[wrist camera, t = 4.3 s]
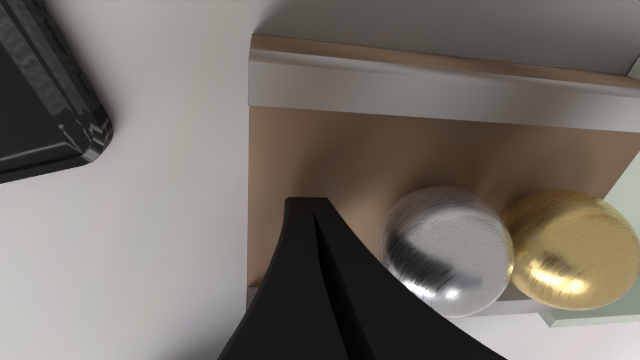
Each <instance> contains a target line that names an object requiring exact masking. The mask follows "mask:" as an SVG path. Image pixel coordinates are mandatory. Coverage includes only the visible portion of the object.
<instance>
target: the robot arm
mask: <svg viewBox="0 0 640 360" xmlns="http://www.w3.org/2000/svg"><path fill="white" fill-rule="evenodd" d="M217 360H507V359H506V358H504V357H503V356H501V355H499V354H498V353H496V352H494V351H493V350H491V349H489V348H488V347H486V346H485V345H483V344H482V343H480V342H479V341H477V340H476V339H474V338H473V337H471V336H470V335H468V334H467V333H465V332H464V331H462V330H461V329H459V328H458V327H457V326H455V325H454V324H453V323H451V322H450V321H448V320H447V319H446V318H444V317H443V316H442V315H440V314H439V313H438V312H436V311H435V310H434V309H433V308H431V307H430V306H429V305H427V304H426V303H425V302H424V301H422V300H421V299H420V298H419V297H417V296H416V295H415V294H414V293H413V292H411V291H410V290H409V289H408V288H407V287H406V286H405V285H404V284H402V283H401V282H400V281H399V280H398V279H397V278H396V277H395V276H394V275H393V274H391V273H390V272H389V271H388V270H387V269H386V268H385V267H384V266H383V265H382V263H381V262H380V261H379V260H378V259H377V258H376V257H375V256H374V255H373V254H372V253H371V252H370V251H369V249H368V248H367V247H366V246H365V245H364V244H363V243H362V241H361V240H360V239H359V238H358V237H357V235H356V234H355V233H354V232H353V231H352V229H351V228H350V227H349V226H348V224H347V223H346V222H345V220H344V219H343V218H342V217H341V215H340V214H339V213H338V211H337V210H336V209H335V207H334V206H333V204H332V203H331V202H330V200H329V199H328V198H327V197H288V198H287V199H285V202H284V214H283V226H282V229H281V233H280V236H279V240H278V243H277V246H276V249H275V251H274V254H273V256H272V259H271V262H270V264H269V267H268V269H267V271H266V274H265V276H264V278H263V280H262V282H261V284H260V287H259V289H258V291H257V293H256V295H255V297H254V298H253V300H252V302H251V304H250V306H249V308H248V310H247V311H246V313H245V315H244V317H243V319H242V320H241V322H240V324H239V325H238V327H237V329H236V330H235V332H234V334H233V335H232V337H231V338H230V340H229V341H228V343H227V345H226V346H225V348H224V349H223V351H222V352H221V354H220V355H219V357H218V359H217Z"/></svg>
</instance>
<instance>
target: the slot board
mask: <svg viewBox="0 0 640 360" xmlns="http://www.w3.org/2000/svg"><path fill="white" fill-rule="evenodd" d="M248 105H249V175H248V250H247V298H246V311H247V310H248V308H249V306H250V304H251V302H252V300H253V298H254V297H255V295H256V293H257V291H258V289H259V287H260V284H261V282H262V280H263V278H264V276H265V274H266V271H267V269H268V267H269V264H270V262H271V259H272V256H273V254H274V251H275V249H276V246H277V243H278V240H279V236H280V233H281V229H282V226H283V214H284V202H285V199H287V198H288V197H327V198H328V199H329V200H330V202H331V203H332V204H333V206H334V207H335V209H336V210H337V211H338V213H339V214H340V215H341V217H342V218H343V219H344V220H345V222H346V223H347V224H348V226H349V227H350V228H351V229H352V231H353V232H354V233H355V234H356V235H357V237H358V238H359V239H360V240H361V241H362V243H363V244H364V245H365V246H366V247H367V248H368V249H369V251H370V252H371V253H372V254H373V255H374V256H375V257H376V258H377V252H376V244H377V235H378V231H379V227H380V225H381V222H382V220H383V218H384V217H385V215H386V213H387V212H388V210H389V209H390V208H391V207H392V206H393V205H394V204H395V203H396V202H397V201H398V200H399V199H401V198H402V197H404V196H405V195H407V194H409V193H411V192H413V191H416V190H418V189H422V188H426V187H431V186H449V187H454V188H459V189H463V190H465V191H468V192H470V193H473V194H475V195H476V196H478V197H480V198H481V199H483V200H484V201H486V202H487V203H488V204H489V205H490V206H491V207H492V208H493V209H495V210H496V212H497V213H498V214H499V215H500V217H502V215H503V213H504V212H505V211H506V210H507V209H508V208H509V207H510V206H511V205H512V204H513V203H515V202H516V201H518V200H519V199H521V198H523V197H525V196H527V195H529V194H532V193H535V192H539V191H543V190H550V189H568V190H575V191H580V192H584V193H587V194H590V195H593V196H595V197H597V198H599V199H602V200H604V198H605V197H606V195H607V194H608V193H609V191H610V190H611V189H612V187H613V186H614V185H615V183H616V182H617V181H618V179H619V178H620V177H621V175H622V174H623V173H624V171H625V170H626V169H627V167H628V166H629V165H630V163H631V162H632V161H633V159H634V158H635V157H636V155H637V154H638V153H639V151H640V80H639V79H635V78H632V77H629V76H624V75H615V74H606V73H597V72H588V71H579V70H570V69H561V68H552V67H543V66H534V65H525V64H516V63H507V62H498V61H490V60H481V59H472V58H463V57H454V56H445V55H436V54H427V53H418V52H409V51H400V50H391V49H382V48H373V47H364V46H355V45H346V44H337V43H328V42H319V41H311V40H302V39H293V38H284V37H275V36H266V35H257V34H252V39H251V47H250V54H249V69H248ZM555 309H556V308H555V307H551V306H548V305H545V304H542V303H540V302H538V301H536V300H534V299H532V298H530V297H528V296H527V295H525V294H524V293H523V292H521V291H520V290H519V289H517V288H516V287H515V286H514V285H513V284H512V283H511V282H510V280H509V283H508V285H507V287H506V288H505V290H504V291H503V293H502V294H501V295H500V297H499V298H498V299H497V300H496V301H495V302H494V303H492V304H491V305H490V306H488V307H487V308H485V309H483V310H482V311H479V312H477V313H475V314H472V315H469V316H465V317H473V316H489V315H506V314H522V313H539V312H554V311H555Z"/></svg>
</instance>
